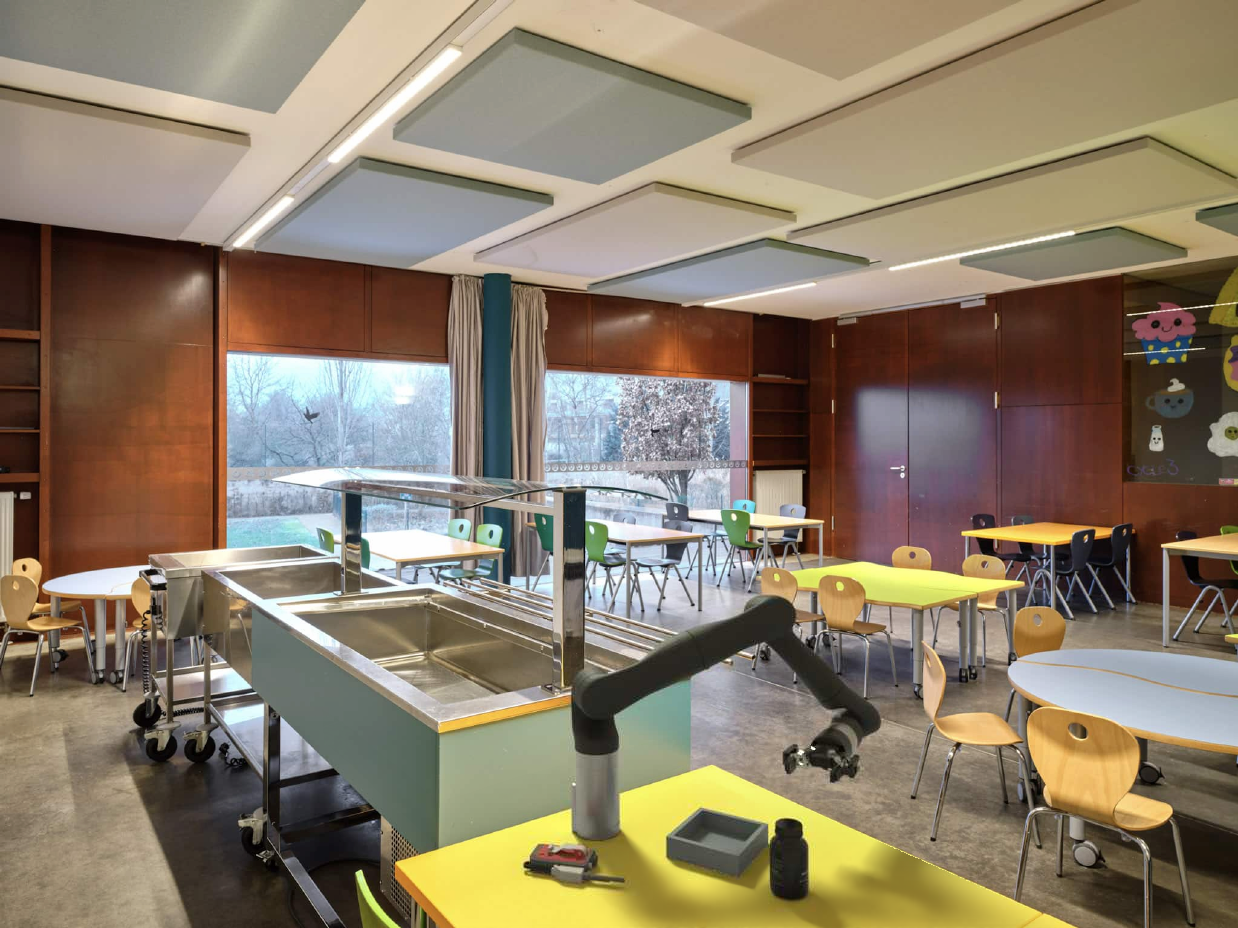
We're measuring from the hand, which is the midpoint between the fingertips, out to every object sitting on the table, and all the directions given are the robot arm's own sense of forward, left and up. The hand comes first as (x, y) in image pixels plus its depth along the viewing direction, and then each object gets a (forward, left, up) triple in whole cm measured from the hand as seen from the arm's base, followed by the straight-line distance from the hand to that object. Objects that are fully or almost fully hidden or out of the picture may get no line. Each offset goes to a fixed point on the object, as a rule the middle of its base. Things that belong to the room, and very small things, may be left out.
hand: (809, 773), depth 150 cm
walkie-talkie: (-37, -25, -18) cm, 48 cm away
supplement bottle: (0, -11, -17) cm, 21 cm away
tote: (-17, -4, -17) cm, 25 cm away
